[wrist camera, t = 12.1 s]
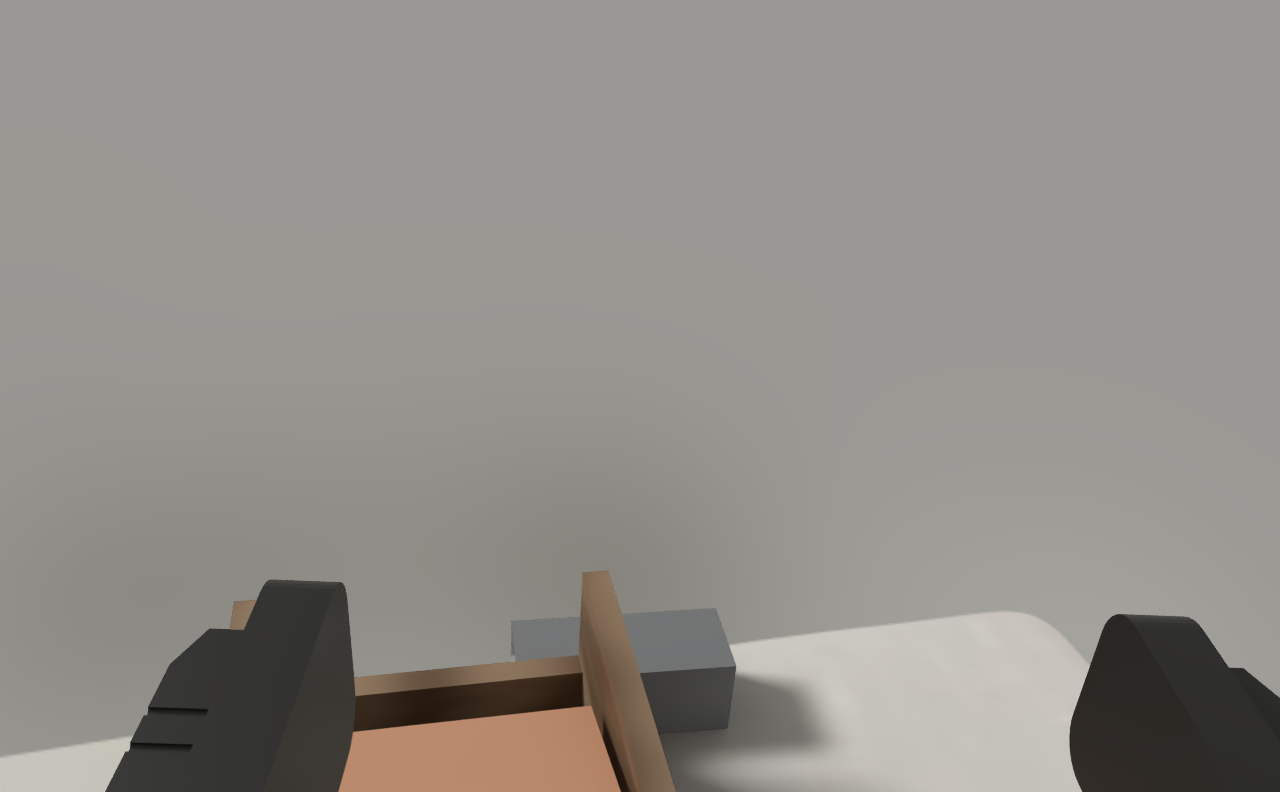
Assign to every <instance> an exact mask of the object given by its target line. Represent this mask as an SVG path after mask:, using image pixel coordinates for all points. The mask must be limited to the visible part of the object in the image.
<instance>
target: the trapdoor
mask: <svg viewBox="0 0 1280 792" xmlns="http://www.w3.org/2000/svg"><path fill="white" fill-rule="evenodd" d="M339 792H621V791H620V788H619V785H618V782H617V779H616V776H615V773H614V771H613V768H612V765H611V762H610V759H609V756H608V753H607V750H606V747H605V745H604V742H603V739H602V736H601V733H600V730H599V727H598V724H597V721H596V719H595V716H594V713H593V710H592V707H591V706H584V707H574V708H565V709H556V710H547V711H538V712H529V713H520V714H511V715H502V716H493V717H484V718H475V719H466V720H457V721H448V722H439V723H430V724H421V725H412V726H403V727H394V728H385V729H376V730H367V731H357V732H353V736H352V742H351V747H350V752H349V756H348V759H347V763H346V767H345V770H344V774H343V777H342V781H341V785H340V788H339Z"/></svg>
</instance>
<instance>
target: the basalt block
mask: <svg viewBox="0 0 1280 792" xmlns="http://www.w3.org/2000/svg"><path fill="white" fill-rule="evenodd" d="M622 617H623V620H624V623H625V627H626V630H627V633H628V636H629V640H630V643H631V646H632V650H633V653H634V656H635V659H636V663H637V666H638V669H639V672H640V676H641V679H642V682H643V686H644V689H645V692H646V695H647V699H648V702H649V705H650V708H651V712H652V715H653V718H654V722H655V725H656V728H657V731H658V734H661V733H673V732H685V731H697V730H709V729H720V728H727V727H728V720H729V713H730V706H731V699H732V692H733V685H734V678H735V671H736V664H735V661H734V658H733V656H732V653H731V650H730V647H729V644H728V642H727V639H726V636H725V633H724V630H723V627H722V625H721V622H720V619H719V616H718V614H717V611H716V608H712V609H696V610H680V611H664V612H648V613H634V614H633V613H632V614H622ZM511 623H512V625H511V662H514V661H524V660H534V659H544V658H554V657H564V656H574V655H578V654H579V635H580V617H568V618H552V619H537V620H520V621H511Z"/></svg>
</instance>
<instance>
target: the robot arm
mask: <svg viewBox="0 0 1280 792" xmlns="http://www.w3.org/2000/svg"><path fill="white" fill-rule="evenodd" d="M352 660H353V659H352V648H351V637H350V625H349V614H348V603H347V595H346V589H345V586H344V585H343V583H341V582H320V581H294V580H268V581H267V582H266V583H265V585H264V586H263V588H262V590H261V592H260V594H259V596H258V598H257V601H256V603H255V605H254V607H253V610H252V612H251V614H250V617H249V619H248V621H247V623H246V626H245V628H244V630H233V629H209V630H207V631H206V632H205V633H204V634H203V635H202V636H201V637H200V638H199V639H197V640H196V641H195V642H194V643H193V644H192V645H191V646H190V647H189V648H187V649H186V650H185V651H184V652H183V653H182V654H181V655H180V656H179V657H177V658H176V659H175V660H174V661H173V662H172V663H171V664H170V665H169V667H168V669H167V671H166V673H165V675H164V677H163V679H162V681H161V683H160V685H159V687H158V689H157V691H156V693H155V695H154V697H153V699H152V701H151V703H150V705H149V706H148V714H147V716H143V718H142V720H141V722H140V724H139V726H138V728H137V730H136V732H135V734H134V736H133V738H132V740H131V742H130V750H129V752H125V754H124V756H123V758H122V760H121V762H120V764H119V766H118V768H117V769H116V771H115V773H114V775H113V777H112V779H111V781H110V783H109V785H108V787H107V789H106V791H105V792H339V788H340V785H341V781H342V777H343V774H344V770H345V767H346V763H347V759H348V756H349V752H350V747H351V742H352V736H353V729H354V719H355V682H354V671H353V661H352ZM1070 754H1071V761H1072V766H1073V770H1074V773H1075V776H1076V779H1077V781H1078V783H1079V786H1080V788H1081V790H1082V792H1280V698H1279V697H1278V696H1277V695H1275V694H1274V693H1273V692H1272V691H1270V690H1269V689H1268V688H1266V686H1264V685H1263V684H1262V683H1261V682H1259V681H1258V680H1257V679H1256V678H1255V677H1253V676H1252V675H1251V674H1250V673H1248V672H1247V671H1246V670H1245V669H1243V668H1229V667H1228V666H1227V664H1226V663H1225V662H1224V660H1223V658H1222V657H1221V655H1220V654H1219V653H1218V651H1217V650H1216V648H1215V647H1214V645H1213V644H1212V643H1211V641H1210V639H1209V638H1208V636H1207V635H1206V634H1205V632H1204V631H1203V629H1202V628H1201V627H1200V625H1198V623H1197V622H1195V621H1194V620H1193V619H1191V618H1189V617H1179V616H1154V615H1153V616H1152V615H1126V614H1117V615H1114V616H1112V617H1111V618H1110V619H1109V620H1108V621H1107V623H1106V624H1105V626H1104V628H1103V631H1102V633H1101V636H1100V639H1099V642H1098V645H1097V648H1096V651H1095V653H1094V656H1093V659H1092V662H1091V665H1090V668H1089V671H1088V673H1087V676H1086V679H1085V682H1084V685H1083V688H1082V691H1081V693H1080V696H1079V699H1078V702H1077V705H1076V708H1075V711H1074V713H1073V717H1072V720H1071V726H1070Z"/></svg>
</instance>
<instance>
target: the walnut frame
mask: <svg viewBox="0 0 1280 792" xmlns="http://www.w3.org/2000/svg"><path fill="white" fill-rule="evenodd" d="M256 601H257V600H248V601H238V602H234V606H233V611H232V617H231V624H230V629H233V630H244V628H245V626H246V623H247V621H248V619H249V617H250V614H251V612H252V610H253V607H254V605H255V603H256ZM354 682H355V719H354V729H353V732H357V731H367V730H376V729H385V728H394V727H403V726H412V725H421V724H430V723H439V722H448V721H457V720H466V719H475V718H484V717H493V716H502V715H511V714H520V713H529V712H538V711H547V710H556V709H565V708H574V707H584V706H591V707H592V710H593V713H594V716H595V719H596V721H597V724H598V727H599V730H600V733H601V736H602V739H603V742H604V745H605V747H606V750H607V753H608V756H609V759H610V762H611V765H612V768H613V771H614V773H615V776H616V779H617V782H618V785H619V788H620V791H621V792H676V790H675V787H674V784H673V780H672V777H671V774H670V771H669V767H668V764H667V761H666V757H665V754H664V751H663V748H662V744H661V741H660V738H659V735H658V731H657V728H656V725H655V722H654V718H653V715H652V712H651V708H650V705H649V702H648V699H647V695H646V692H645V689H644V686H643V682H642V679H641V676H640V672H639V669H638V666H637V663H636V659H635V656H634V653H633V650H632V646H631V643H630V640H629V636H628V633H627V630H626V627H625V623H624V620H623V617H622V614H621V611H620V607H619V604H618V601H617V597H616V594H615V591H614V587H613V584H612V581H611V578H610V575H609V571H596V572H584V573H583V578H582V596H581V615H580V635H579V654H578V655H574V656H564V657H554V658H544V659H534V660H524V661H514V662H505V663H495V664H485V665H475V666H465V667H455V668H445V669H435V670H425V671H416V672H405V673H395V674H385V675H375V676H365V677H355V678H354Z"/></svg>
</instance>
